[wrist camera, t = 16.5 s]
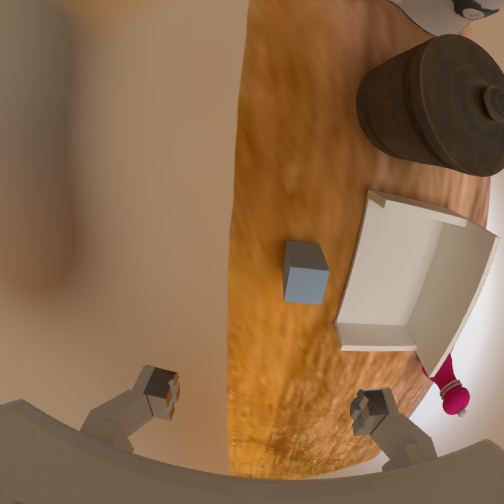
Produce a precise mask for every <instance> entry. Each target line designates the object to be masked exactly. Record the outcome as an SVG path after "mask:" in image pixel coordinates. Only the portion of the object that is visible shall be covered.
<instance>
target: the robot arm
mask: <svg viewBox="0 0 504 504" xmlns="http://www.w3.org/2000/svg"><path fill="white" fill-rule="evenodd" d="M390 1H391V2H393V3H394V4H396V5H398V6H399V7H400V8H401V9H402V10H403V11H404V12H405V13H406V14H407V15H408V16H409V17H410V18H411V19H412V20H413V21H414V22H415V23H416V24H417V25H419V26H420V27H421V28H423V29H424V30H426V31H427V32H429V33H431V34H433V35H435V36H440V35H444V34H456V35H458V34H459V33H460V32H461V31H462V29H463V28H464V27H465V26H467V25H468V24H469V23H470V22H472V21H473V20H478V19H481V18H485V17H487V16H490V15H492V14H494V13H496V12H498V11H499V9H500V8H502V7H504V0H390ZM178 378H179V376H178V373H177V372H173V371H169V370H165V369H161V368H157V367H153V366H149V365H145V366H144V367H143V369H142V371H141V373H140V375H139V377H138V378H137V381H136V382H135V384H134V386H133V389H132V390H127V391H125V392H124V393H122V394H120V395H118V396H116V397H115V398H113V399H111V400H109V401H107V402H106V403H104V404H102V405H100V406H98V407H97V408H95V409H93V410H91V411H90V413H89V414H88V416H87V418H86V420H85V422H84V424H83V425H82V428H81V429H80V431H78V430H76V429H74V428H72V427H70V426H68V425H66V424H64V423H62V422H60V421H59V420H57V419H55V418H53V417H51V416H50V415H48V414H46V413H45V412H43V411H41V410H40V409H38V408H36V407H35V406H33V405H31V404H30V403H28V402H27V401H25V400H22V399H20V400H15V401H12V402H9V403H6V404H3V405H0V504H504V450H503V449H502V448H500V447H499V446H498V445H497V444H495V443H494V442H492V441H491V440H488V439H485V440H482V441H479V442H478V443H475V444H473V445H470V446H468V447H466V448H463V449H460V450H458V451H456V452H452V453H450V454H447V455H444V456H441V457H437V454H436V452H435V448H434V445H433V442H432V439H431V437H429V436H428V435H427V434H426V433H425V432H423V431H422V430H421V429H420V428H419V427H418V426H416V425H415V424H414V423H413V422H411V421H410V420H409V419H408V418H407V417H406V416H405V415H403V414H402V413H399V411H398V408H397V405H396V402H395V400H394V397H393V394H392V391H391V389H390V388H369V389H360V390H359V391H358V393H357V397H356V398H355V399H353V401H352V403H351V406H350V416H351V418H352V419H353V420H354V423H353V424H352V426H353V432H354V436H360V435H370V436H371V437H372V439H373V440H374V441H375V442H376V443H377V445H378V446H379V447H380V448H381V449H382V450H383V452H384V453H385V454H386V455H387V456H388V457H389V459H390V460H389V461H388V462H387V463H385V464H384V465H383V466H382V471H383V472H378V473H372V474H365V475H359V476H351V477H341V478H330V479H313V480H277V479H258V478H246V477H237V476H229V475H221V474H215V473H209V472H203V471H198V470H193V469H188V468H184V467H180V466H175V465H171V464H167V463H164V462H160V461H157V460H153V459H149V458H146V457H143V456H140V455H137V454H134V453H133V450H134V448H133V446H132V444H131V443H130V441H129V439H128V438H127V437H129V436H130V435H131V434H133V433H134V432H135V431H137V430H138V429H139V428H140V427H142V426H143V425H144V424H146V423H147V422H148V421H150V420H151V419H152V418H153V417H157V418H161V419H166V420H170V421H171V419H172V416H173V413H174V410H175V408H174V404H175V403H176V402H177V401H178V398H179V393H180V383H179V382H178Z"/></svg>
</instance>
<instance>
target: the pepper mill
mask: <svg viewBox="0 0 504 504" xmlns="http://www.w3.org/2000/svg"><path fill="white" fill-rule="evenodd" d="M418 358H419V357H418ZM419 360H420V359H419ZM420 362H421V361H420ZM422 370H423V372H424V374H425V375H426V376H427V377H428V375H427V373H426V371H425V369H424V367H423V365H422ZM428 378H429V377H428ZM429 379H430V380H432V381H433V382H435V383H436V384H437V385H438V387H439V389H440V391H441V392H440V396H441V399H442V400H444V401H443V409H444V411H445V412H446V413H447V414H449V415H454V414H457V413H458V416H459V417H463V416H464V415H465V414H466V410H465V409H464V408H465V407H466V406H467V405H468V403H469V399H470V395H469V392H468V390H467V389H466V388H464V387H462V384H461V383H460V380H457V379H456V378H455V375H454V373H453V367H452V358H451V355H450V353H449V354H448V356H447V358H446V359H445V361H444V362H443V364H442V365H441V367H440V369H439V370H438V372H437V373H436V375H435V376H434V377H430V378H429Z"/></svg>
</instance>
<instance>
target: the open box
mask: <svg viewBox="0 0 504 504" xmlns="http://www.w3.org/2000/svg"><path fill="white" fill-rule="evenodd" d="M499 241H500V237H498V236H496V235H495V234H493V233H491V232H490V231H488V230H486V229H485V228H483V227H481V226H480V225H478V224H476V223H474V222H473V221H471V220H469V219H467V218H465V217H464V216H462V215H460V214H458V213H456V212H454V211H452V210H450V209H448V208H445V207H441V206H437V205H434V204H430V203H426V202H422V201H418V200H414V199H410V198H406V197H402V196H397V195H393V194H388V193H384V192H379V191H374V190H369V189H368V193H367V198H366V204H365V208H364V213H363V218H362V223H361V227H360V232H359V236H358V240H357V244H356V248H355V252H354V256H353V260H352V264H351V268H350V271H349V275H348V279H347V282H346V286H345V289H344V293H343V296H342V299H341V303H340V306H339V309H338V312H337V315H336V318H335V322H334V328H335V331H336V335H337V339H338V343H339V346H340V350H341V351H413V350H415V351H416V353H417V355H418V357H419V359H420V361H421V363H422V365H423V367H424V369H425V371H426V373H427V375H428V377H429V378H430V377H434V376H435V375H436V373H437V372H438V370H439V369H440V367H441V365H442V364H443V362H444V361H445V359H446V358H447V356H448V354H449V353H450V351H451V349H452V348H453V346H454V344H455V343H456V341H457V339H458V337H459V335H460V333H461V332H462V330H463V328H464V326H465V324H466V322H467V320H468V318H469V316H470V314H471V312H472V310H473V308H474V306H475V304H476V302H477V300H478V297H479V295H480V293H481V290H482V288H483V286H484V283H485V280H486V278H487V276H488V273H489V271H490V268H491V265H492V262H493V260H494V257H495V254H496V251H497V248H498V244H499Z"/></svg>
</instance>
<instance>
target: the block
mask: <svg viewBox="0 0 504 504" xmlns="http://www.w3.org/2000/svg"><path fill="white" fill-rule="evenodd" d="M282 273H283V292H284V301H287V302H297V303H307V304H317V305H321V304H322V301H323V297H324V293H325V289H326V285H327V281H328V277H329V273H330V270H329V267H328V265H327V262H326V260H325V257H324V255H323V252H322V250H321V247H320V245H319V244H314V243H306V242H298V241H290V240H287V243H286V250H285V256H284V262H283V269H282Z"/></svg>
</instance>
